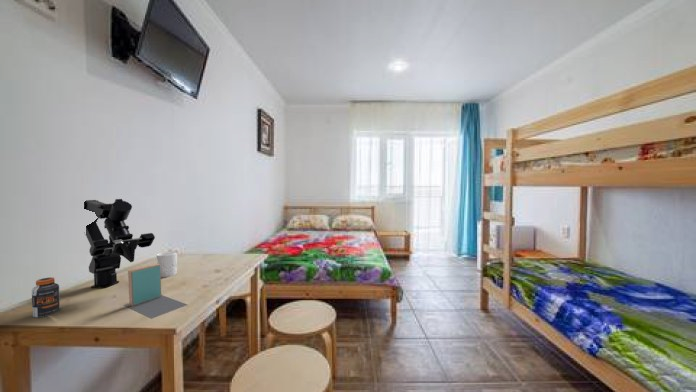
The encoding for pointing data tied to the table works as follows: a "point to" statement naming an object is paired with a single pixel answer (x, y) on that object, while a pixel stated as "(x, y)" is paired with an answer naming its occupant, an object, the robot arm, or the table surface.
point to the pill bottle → (45, 297)
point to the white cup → (167, 263)
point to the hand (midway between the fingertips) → (132, 261)
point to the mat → (157, 306)
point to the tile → (144, 284)
